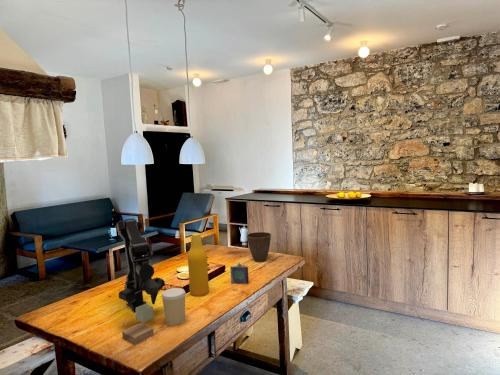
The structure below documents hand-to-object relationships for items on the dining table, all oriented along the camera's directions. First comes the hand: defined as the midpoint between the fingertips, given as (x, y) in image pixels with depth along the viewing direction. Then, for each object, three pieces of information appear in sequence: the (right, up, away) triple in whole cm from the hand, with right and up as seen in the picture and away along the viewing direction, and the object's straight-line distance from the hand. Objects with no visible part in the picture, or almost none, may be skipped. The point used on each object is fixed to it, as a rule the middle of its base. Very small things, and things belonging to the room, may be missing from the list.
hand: (144, 308), depth 143 cm
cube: (0, -4, 0) cm, 4 cm away
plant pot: (+50, +5, +70) cm, 86 cm away
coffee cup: (+14, -4, -2) cm, 14 cm away
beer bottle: (+19, -1, +25) cm, 31 cm away
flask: (+39, +1, +35) cm, 52 cm away
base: (+2, -6, -14) cm, 15 cm away
